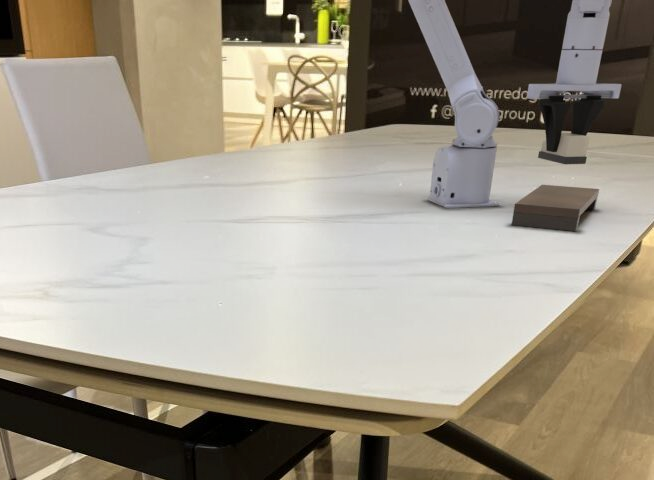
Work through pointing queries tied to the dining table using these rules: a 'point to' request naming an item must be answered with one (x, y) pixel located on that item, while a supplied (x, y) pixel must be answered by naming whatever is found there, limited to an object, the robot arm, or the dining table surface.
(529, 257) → the dining table surface
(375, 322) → the dining table surface
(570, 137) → the beige cube on base
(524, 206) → the low wooden riser
